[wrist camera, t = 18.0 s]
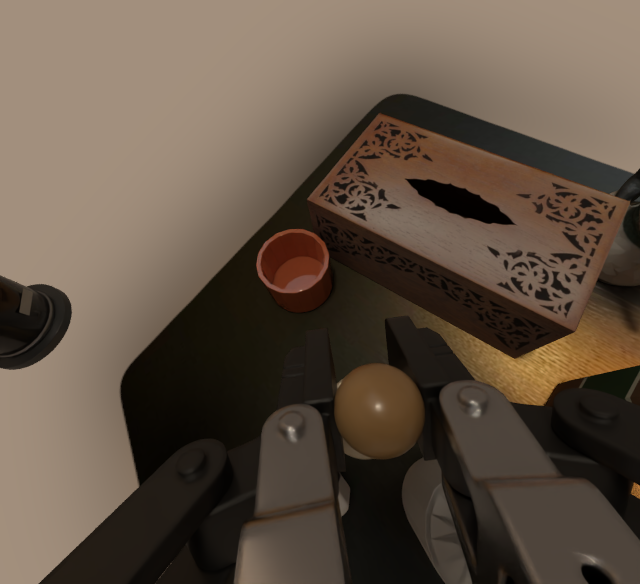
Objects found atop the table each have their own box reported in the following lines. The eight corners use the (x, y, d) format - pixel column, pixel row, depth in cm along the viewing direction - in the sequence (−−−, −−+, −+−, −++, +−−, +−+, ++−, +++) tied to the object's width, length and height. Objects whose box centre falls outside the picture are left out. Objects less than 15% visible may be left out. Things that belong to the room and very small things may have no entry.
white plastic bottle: (418, 557, 27) (482, 689, 13) (390, 466, 30) (419, 498, 16) (497, 535, 27) (640, 643, 13) (461, 446, 30) (549, 461, 16)
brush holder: (279, 321, 37) (265, 303, 32) (264, 266, 41) (249, 242, 35) (341, 300, 38) (338, 278, 32) (321, 247, 41) (316, 220, 35)
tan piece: (342, 458, 22) (309, 590, 5) (322, 396, 23) (248, 340, 7) (401, 436, 22) (556, 493, 5) (377, 376, 23) (434, 274, 7)
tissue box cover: (317, 250, 41) (306, 199, 32) (374, 176, 45) (379, 113, 36) (514, 358, 33) (575, 331, 24) (562, 257, 37) (630, 201, 28)
